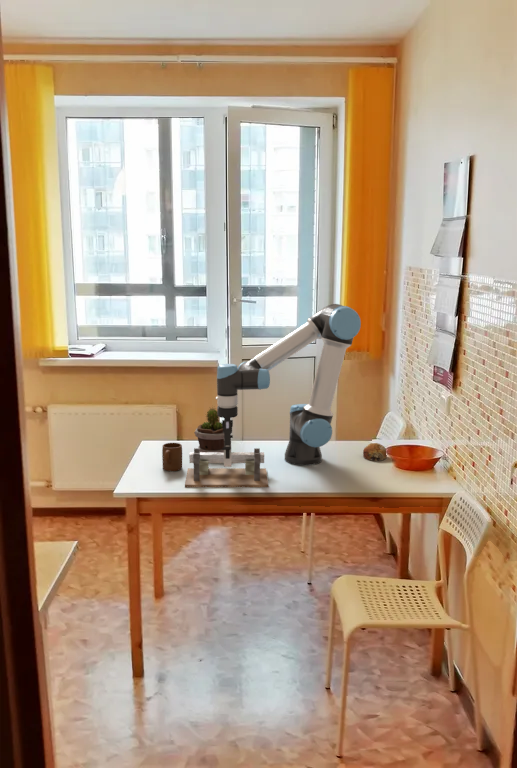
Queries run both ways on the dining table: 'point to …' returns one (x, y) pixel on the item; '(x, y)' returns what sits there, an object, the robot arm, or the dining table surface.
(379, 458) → the bread roll
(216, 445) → the flowerpot
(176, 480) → the dining table surface
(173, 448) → the mug
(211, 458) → the rail
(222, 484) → the rack
